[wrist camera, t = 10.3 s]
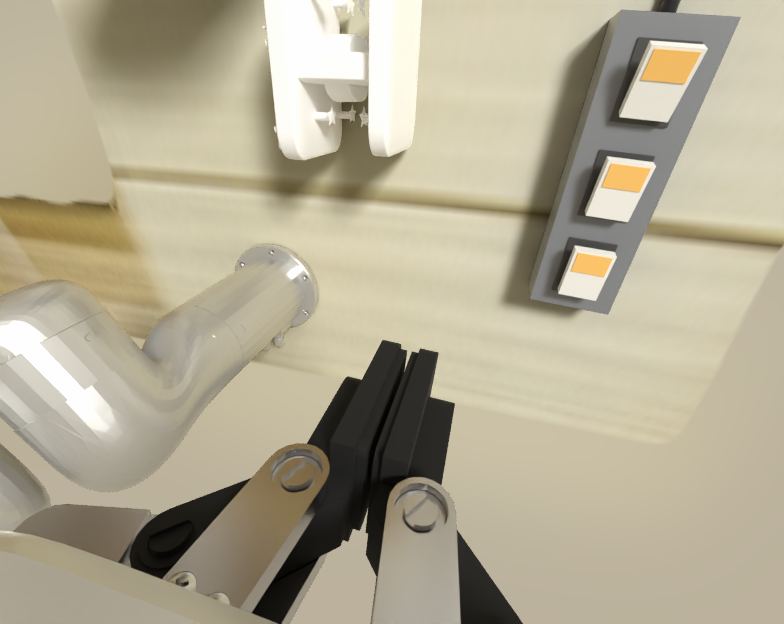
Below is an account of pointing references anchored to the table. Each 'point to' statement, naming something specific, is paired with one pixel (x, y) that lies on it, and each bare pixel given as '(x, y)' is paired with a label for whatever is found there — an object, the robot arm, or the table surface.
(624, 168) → the middle rocker
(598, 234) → the power strip
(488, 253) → the table surface
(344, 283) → the table surface
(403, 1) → the cable organizer
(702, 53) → the near rocker
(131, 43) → the table surface
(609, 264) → the plate
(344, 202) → the table surface
